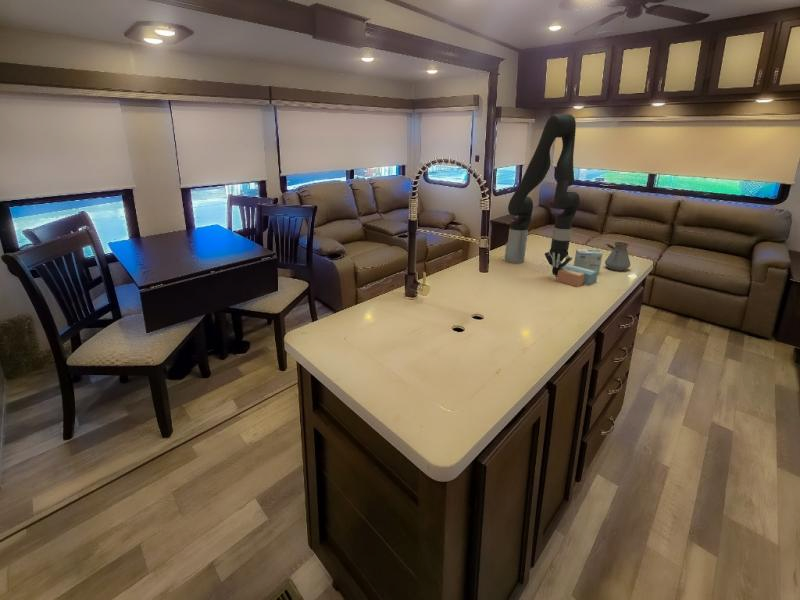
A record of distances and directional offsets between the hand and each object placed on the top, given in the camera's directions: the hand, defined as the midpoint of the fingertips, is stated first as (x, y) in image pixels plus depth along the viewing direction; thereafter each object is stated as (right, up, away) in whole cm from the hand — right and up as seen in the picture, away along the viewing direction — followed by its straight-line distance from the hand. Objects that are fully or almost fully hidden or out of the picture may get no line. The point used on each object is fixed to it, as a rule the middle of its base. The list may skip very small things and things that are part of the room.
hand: (555, 274), depth 190 cm
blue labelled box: (+10, -2, +1) cm, 10 cm away
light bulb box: (+19, +2, +11) cm, 22 cm away
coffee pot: (+33, +3, +13) cm, 36 cm away
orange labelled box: (+5, -4, -4) cm, 8 cm away
